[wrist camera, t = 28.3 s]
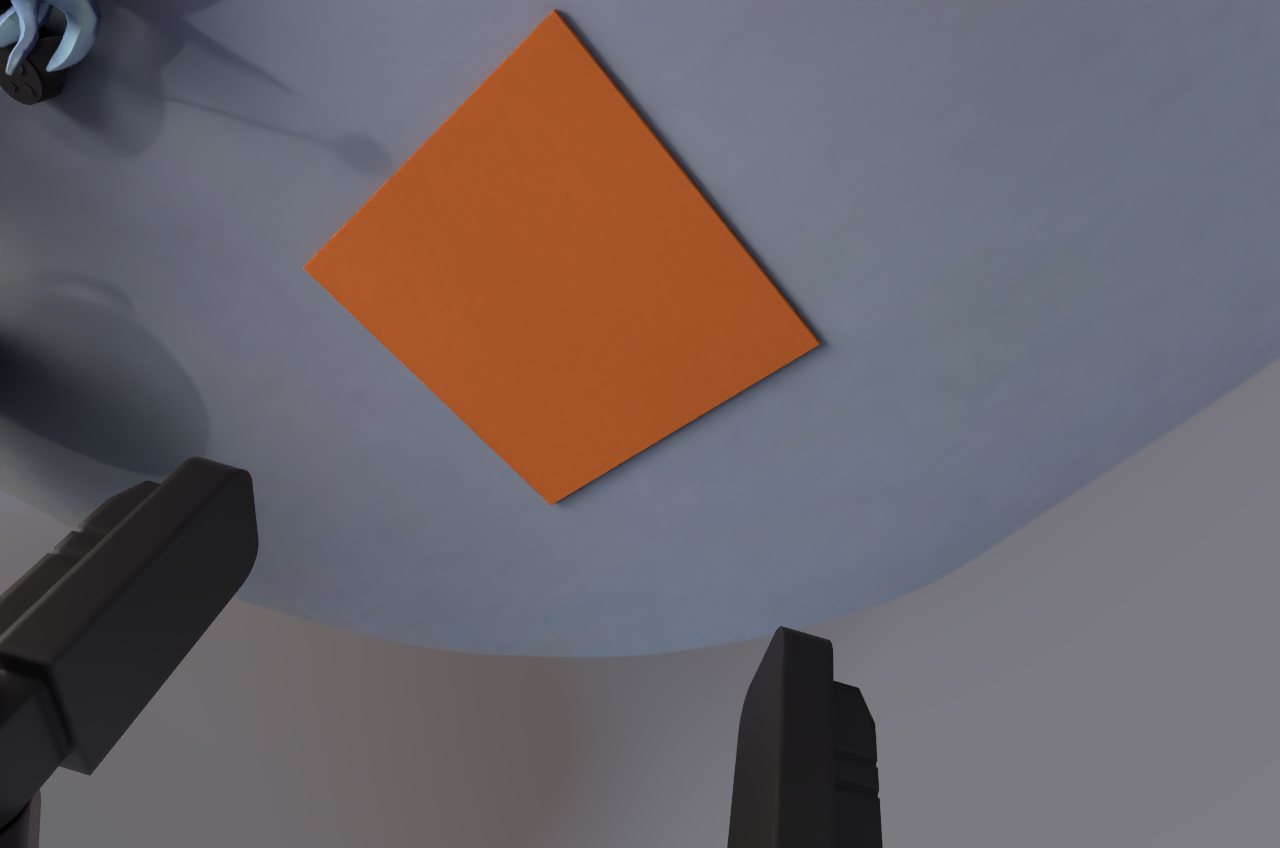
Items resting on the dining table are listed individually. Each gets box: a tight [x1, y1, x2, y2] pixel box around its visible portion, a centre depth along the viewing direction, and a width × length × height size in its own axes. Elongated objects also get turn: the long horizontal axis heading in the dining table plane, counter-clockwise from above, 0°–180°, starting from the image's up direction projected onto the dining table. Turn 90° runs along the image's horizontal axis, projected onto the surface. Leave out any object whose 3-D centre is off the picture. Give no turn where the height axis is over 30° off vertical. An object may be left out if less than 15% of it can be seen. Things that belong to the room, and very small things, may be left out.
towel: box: [303, 10, 820, 505], centre depth 39 cm, size 18×18×1 cm
